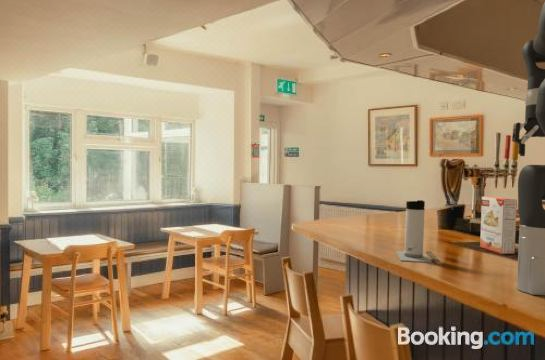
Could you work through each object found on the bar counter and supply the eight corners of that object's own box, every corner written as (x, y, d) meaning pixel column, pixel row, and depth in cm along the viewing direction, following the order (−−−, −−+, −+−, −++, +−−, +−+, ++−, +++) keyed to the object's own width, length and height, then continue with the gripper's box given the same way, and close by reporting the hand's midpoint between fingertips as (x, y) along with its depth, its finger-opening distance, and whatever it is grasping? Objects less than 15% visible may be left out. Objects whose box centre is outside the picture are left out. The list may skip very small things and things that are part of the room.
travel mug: (411, 258, 157) (413, 200, 156) (400, 254, 163) (402, 198, 163) (427, 257, 159) (429, 200, 158) (416, 254, 165) (418, 198, 164)
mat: (431, 262, 153) (431, 261, 152) (400, 261, 154) (400, 259, 154) (424, 253, 168) (424, 252, 168) (396, 252, 170) (396, 251, 170)
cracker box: (478, 247, 185) (481, 195, 184) (492, 247, 186) (494, 196, 185) (500, 254, 171) (503, 198, 170) (515, 254, 172) (517, 198, 171)
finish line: (442, 265, 149) (442, 263, 149) (437, 265, 149) (437, 263, 149) (430, 252, 171) (430, 251, 171) (426, 252, 171) (426, 250, 171)
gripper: (519, 102, 139) (516, 155, 140) (570, 102, 137) (567, 156, 138) (510, 105, 147) (508, 156, 147) (559, 106, 144) (556, 157, 145)
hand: (537, 156), depth 142 cm, fingers open, 8 cm apart
